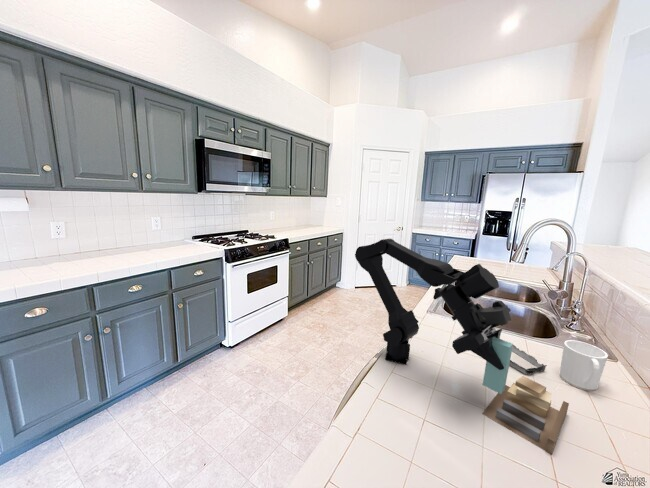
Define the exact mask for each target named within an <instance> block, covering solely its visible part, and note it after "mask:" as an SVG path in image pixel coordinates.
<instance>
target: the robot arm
mask: <svg viewBox="0 0 650 488" xmlns="http://www.w3.org/2000/svg"><path fill="white" fill-rule="evenodd" d="M383 255H388V256H390V257H391V258H393V259H395V260H396V261H399V262H400V263H402V264H403V265H405V266H407V267H409V268H411V269H412V270H413V271H415V272H416V273H417V274H418V276H419V278H420V279H422V280H423V281H424V282H425V283H427V284H428V285H429V286H431V287H433V288H435V289H434V294H433V300H438V299H440V298H442V299H443V301H444V302H445V304H446V305H447V308H449V309H448V310H450V312H451V313H452V316H451V320H452V321H457V322H458V324H459V326H461V328H462V329H463V331H461V334H462V335H460V336H458V337H457V338H455V339H454V340H453V341H452V345H451V346H452V348H453V349H454V351H455V353H456V354H457V355H460V354H462V353H464V352H467V351H468V352H472V353H474V354H475V355H477V356H478V357H480V358H482V359H483V360H484V361H487V362H489V363H490V364H492V365H493V366H495V367H496V368H497V369H499V370H502V369H504V367H503V365H502V363H501V361H500V359H499V357H498V356H497V354H496V352H495V350H494V349H493V347H492V340H493V337H496V338H499V339H501V334H502V331H503V328H499V329H496V327H498V326H502V327H503V326H505V325H507V324H508V323H509V322H510V321H512V318H511V315H510V314H511V313H510V312H511V308H510V307H508V305H506V304H505V303H504V302H503V301H502V300H495V301H494V302H492V306H488V307H483V306H482V305H481V304H480V303H475V302H474V301H473V300H472V299H471V298H473V299H475V300H477V299H479V298H482V297H483V296H486V295H487V294H488V293H491V292H492V291H495V290H496V289H498V288H499V287H500V284H499V281H498V279H497V277H496V276H495V275H494V273H493V272H490V271H489V270H488V269H487V268H485V267H483V266H482V264H481V263H478V264H477V263H476V264H475V265H473V266H472V267H470V269H468V270H467V271H465V272H464V271H462V270H459V269H456V268H454V267H453V266H452V265H451V264H450V263H449V262H446V261H442V260H440V259H436V258H429V257H425V255H424V256H423V255H422V254H419V253H418V252H416V251H414V250H412V249H410V248H408V247H406V246H405V245H403V244H400V243H398V242H396V241H395V239H393V238H384V239H379V240H378V241H376V242H374V243H371V244H367V245H362V246H358V247H357V248H356V250H355V253H354V256H355V259H356V261H357V263H358V265H359V266H360V267H361V269H363V270H365V271H366V272H367V273H368V274H369V276H370V279H371V281H372V282H373V285H374V286H375V289H376V291H377V292H378V295H379V297H380V299H381V301H382V304H383V305H384V307H385V309H386V312H387V314H388V323H387V324H388V327H389V330H388V331H385V332H384V333H383V334H382V337H383V341H384V342H387V343H386V354H385V357H384V359H385V360H386V361H389V362H393V363H396V364H399V365H400V364H401V365H407V363H408V361H409V360H410V349H411V344H410V343H409V340H410V339H412V338H413V337H414V336H416V335H418V333H419V329H420V326H419V320H418V319H417V318H416V316H415V312H414V311H413V310H411V309H410V310H409V311H408V310H407V309H405V308H404V306H403V305H402V303H401V300H400V299H399V297H398V295H397V293H396V291H395V289H394V287H393V285H392V283H391V280H390V279H389V277H388V275H387V273H386V271H385V269H384V266H383V260H384V258H383ZM454 283H457V284H456V285H454ZM443 285H445V286H443ZM441 286H443V287H442V288H440V287H441ZM436 287H437V288H436Z"/></svg>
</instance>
